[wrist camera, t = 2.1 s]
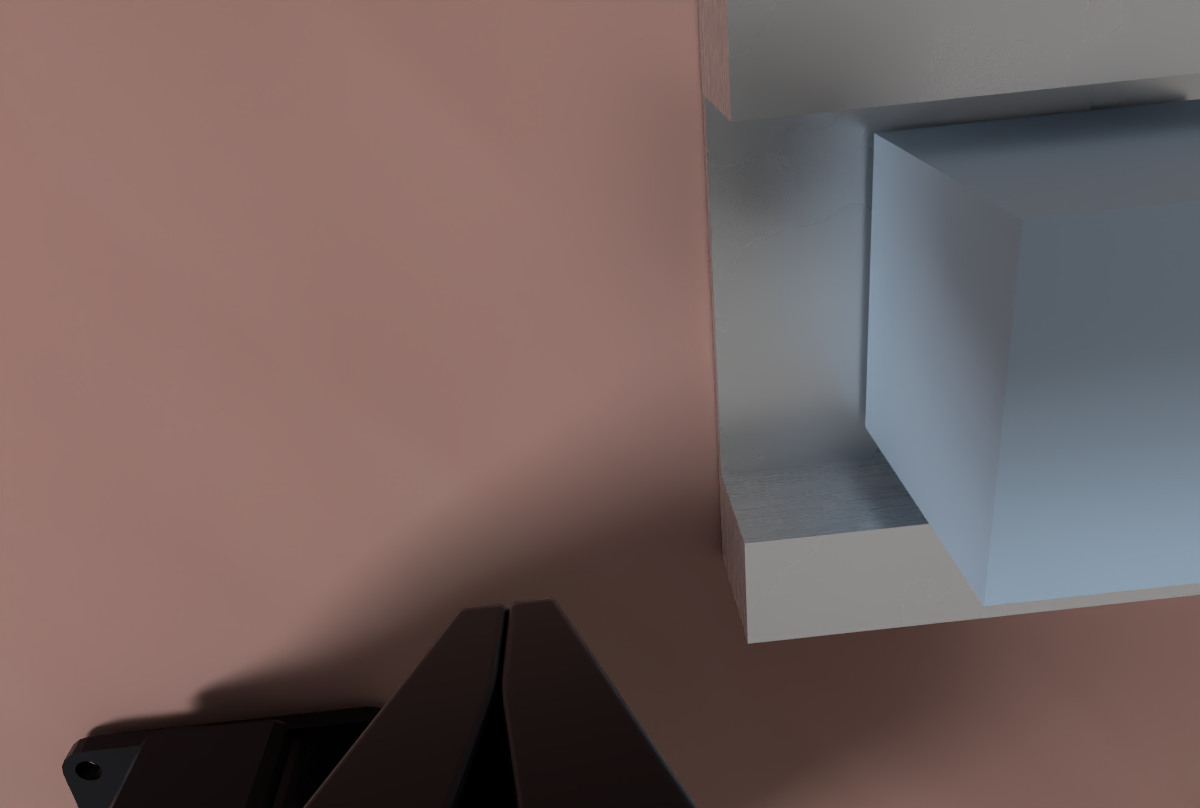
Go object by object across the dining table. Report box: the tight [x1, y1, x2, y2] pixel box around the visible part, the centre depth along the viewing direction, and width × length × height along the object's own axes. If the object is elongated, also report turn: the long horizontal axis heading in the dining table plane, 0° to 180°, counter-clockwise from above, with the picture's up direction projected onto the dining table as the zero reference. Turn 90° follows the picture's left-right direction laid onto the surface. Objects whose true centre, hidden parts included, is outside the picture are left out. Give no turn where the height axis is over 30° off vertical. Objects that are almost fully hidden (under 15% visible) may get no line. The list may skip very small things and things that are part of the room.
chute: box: [698, 0, 1200, 644], centre depth 15 cm, size 11×10×2 cm
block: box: [865, 99, 1200, 606], centre depth 13 cm, size 5×5×5 cm
